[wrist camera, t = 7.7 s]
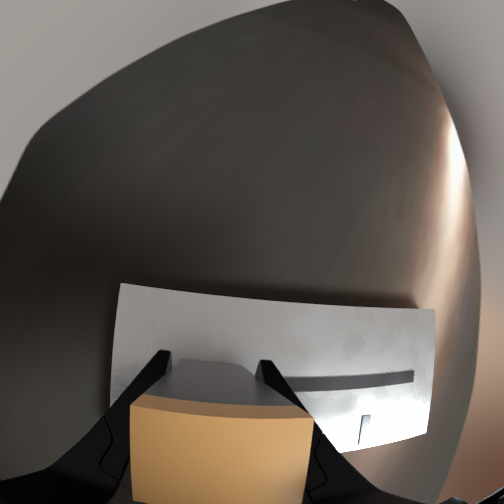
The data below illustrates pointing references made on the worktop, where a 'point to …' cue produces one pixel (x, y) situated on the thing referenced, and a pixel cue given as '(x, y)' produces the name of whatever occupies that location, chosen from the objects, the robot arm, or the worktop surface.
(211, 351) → the fader console
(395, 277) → the worktop surface
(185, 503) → the fader lever
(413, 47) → the worktop surface
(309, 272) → the worktop surface
